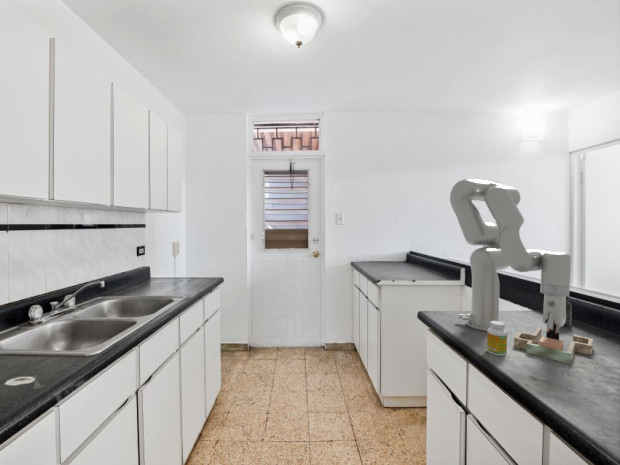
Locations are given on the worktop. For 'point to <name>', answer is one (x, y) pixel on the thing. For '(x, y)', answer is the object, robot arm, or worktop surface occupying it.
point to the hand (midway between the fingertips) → (552, 343)
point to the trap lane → (531, 340)
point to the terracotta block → (551, 343)
